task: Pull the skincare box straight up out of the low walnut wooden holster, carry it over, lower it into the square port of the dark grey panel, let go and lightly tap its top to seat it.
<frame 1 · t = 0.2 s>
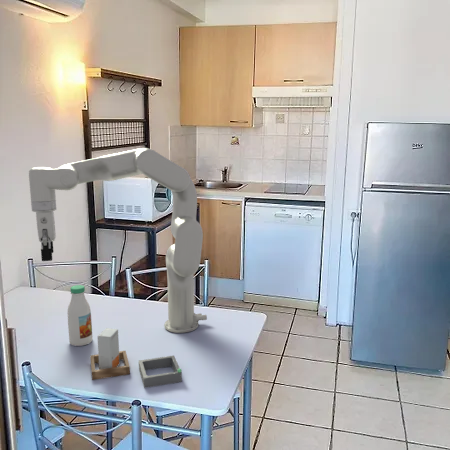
hand: (47, 256, 160), 31 cm above the table, tool pointing down, fingers open, 9 cm apart
port panel: (159, 375, 145), on the table
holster: (109, 368, 149), on the table
milk bottle: (81, 342, 167), on the table
skincare box: (109, 369, 149), resting in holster
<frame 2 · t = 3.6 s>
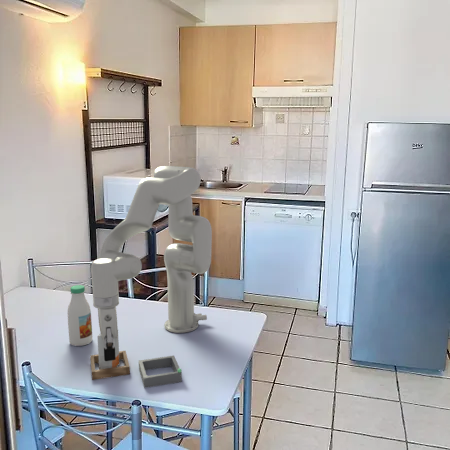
hand: (108, 353, 148), 5 cm above the table, tool pointing down, fingers closed on skincare box, 7 cm apart
skincare box: (109, 368, 149), resting in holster, touching gripper
everything else where it was.
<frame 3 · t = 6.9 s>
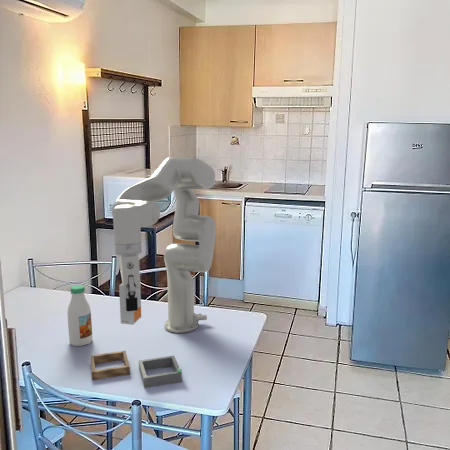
hand: (130, 305, 143), 21 cm above the table, tool pointing down, fingers closed on skincare box, 7 cm apart
skincare box: (131, 321, 144), point 16 cm above the table, touching gripper
everything else where it was.
when the fingers open (6 cm above the table, at t = 10.3 s): skincare box drops 1 cm, resting in port panel.
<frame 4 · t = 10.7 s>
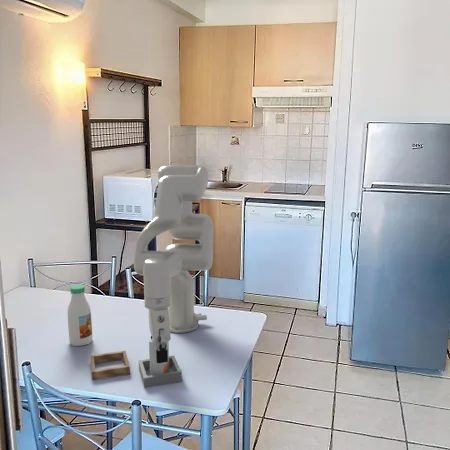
hand: (159, 354, 143), 7 cm above the table, tool pointing down, fingers open, 9 cm apart
skincare box: (159, 375, 145), resting in port panel
everything else where it was.
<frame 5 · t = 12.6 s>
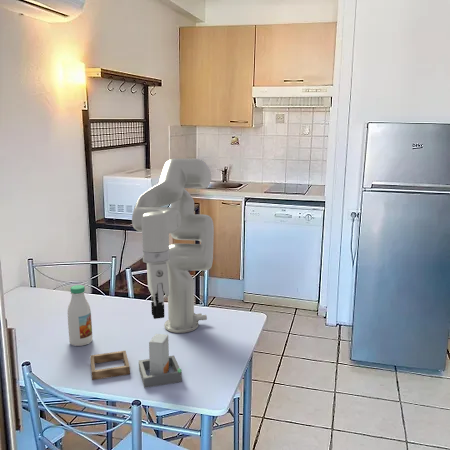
hand: (158, 315, 141), 19 cm above the table, tool pointing down, fingers closed
nothing on the table moved.
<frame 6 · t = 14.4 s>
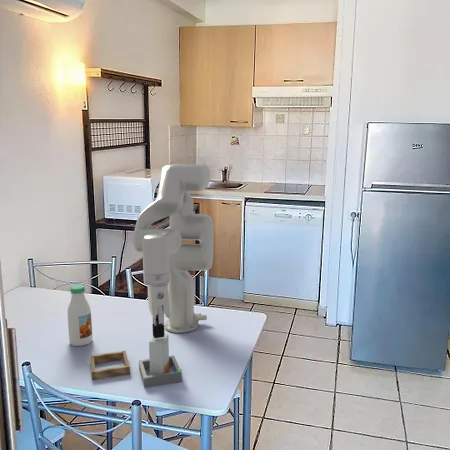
hand: (158, 336, 142), 13 cm above the table, tool pointing down, fingers closed
nothing on the table moved.
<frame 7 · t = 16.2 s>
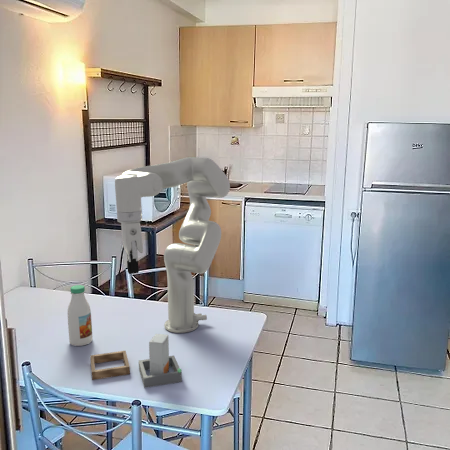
hand: (133, 272, 152), 28 cm above the table, tool pointing down, fingers closed
nothing on the table moved.
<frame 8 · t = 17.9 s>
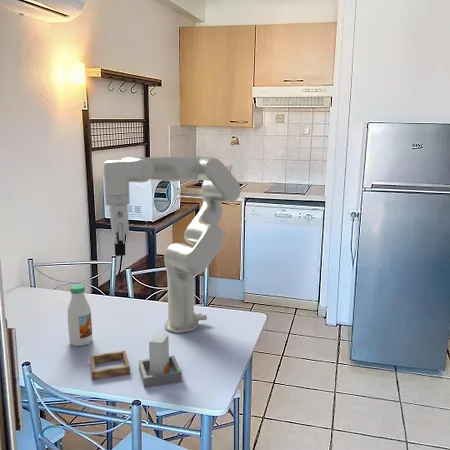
hand: (120, 255, 157), 32 cm above the table, tool pointing down, fingers closed
nothing on the table moved.
at the end: skincare box 0.3 cm off-centre on the port panel, point 0.0 cm above the port panel's base; skincare box tilted 0°; the gripper is holding nothing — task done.
